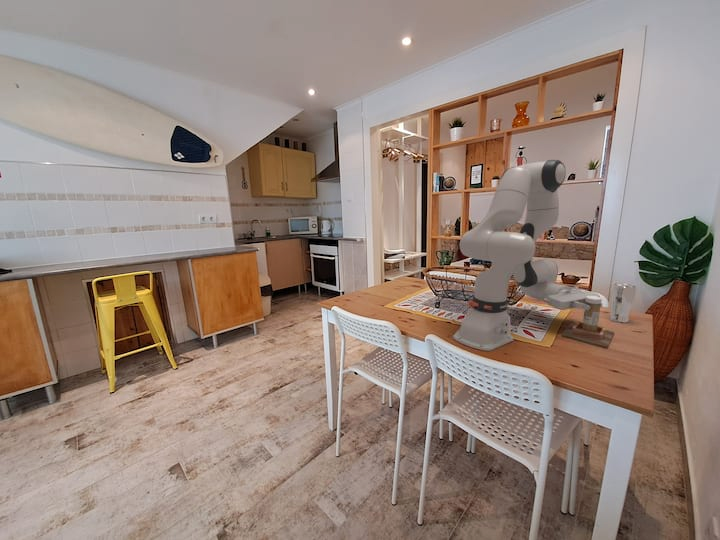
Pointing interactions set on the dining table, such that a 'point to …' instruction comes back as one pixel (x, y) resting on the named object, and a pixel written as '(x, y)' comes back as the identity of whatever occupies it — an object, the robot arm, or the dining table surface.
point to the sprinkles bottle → (592, 314)
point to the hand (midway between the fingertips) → (595, 306)
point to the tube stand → (588, 335)
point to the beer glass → (622, 301)
